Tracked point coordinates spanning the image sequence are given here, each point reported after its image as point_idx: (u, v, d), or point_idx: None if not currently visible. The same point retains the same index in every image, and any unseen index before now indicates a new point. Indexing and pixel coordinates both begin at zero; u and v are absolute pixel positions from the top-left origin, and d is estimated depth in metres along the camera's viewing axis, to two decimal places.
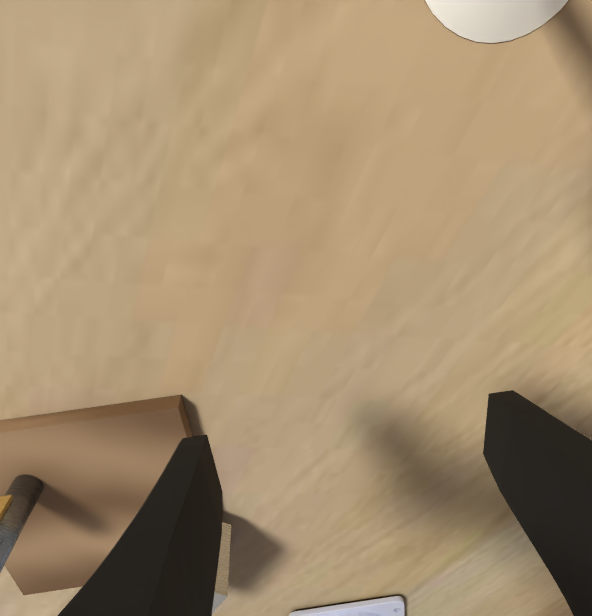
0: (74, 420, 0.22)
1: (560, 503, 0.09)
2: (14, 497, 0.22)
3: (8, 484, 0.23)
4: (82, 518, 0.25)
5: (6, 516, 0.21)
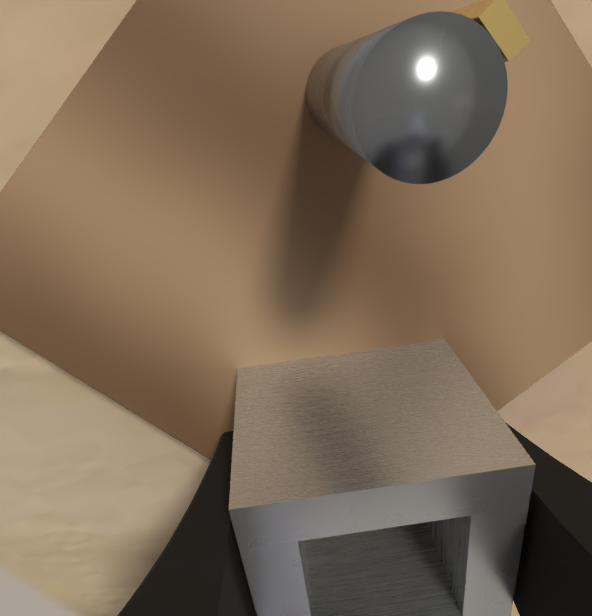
0: None
1: None
2: None
3: (321, 41, 0.08)
4: (304, 265, 0.10)
5: None
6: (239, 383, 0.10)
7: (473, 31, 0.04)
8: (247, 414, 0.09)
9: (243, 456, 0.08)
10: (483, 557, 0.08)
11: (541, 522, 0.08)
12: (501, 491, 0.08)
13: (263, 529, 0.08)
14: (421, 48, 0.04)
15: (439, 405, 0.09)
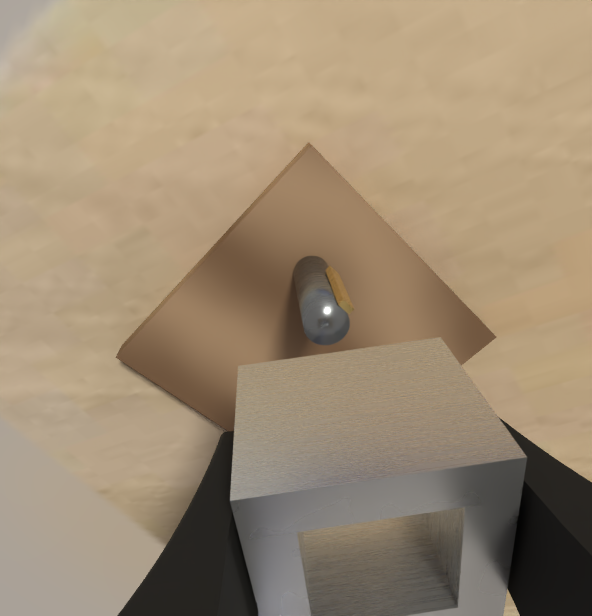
0: None
1: None
2: None
3: (299, 254, 0.18)
4: (293, 344, 0.20)
5: None
6: (240, 380, 0.11)
7: (337, 308, 0.14)
8: (247, 410, 0.10)
9: (244, 450, 0.09)
10: (477, 549, 0.09)
11: (541, 522, 0.08)
12: (494, 483, 0.08)
13: (263, 520, 0.08)
14: (322, 312, 0.14)
15: (434, 401, 0.09)
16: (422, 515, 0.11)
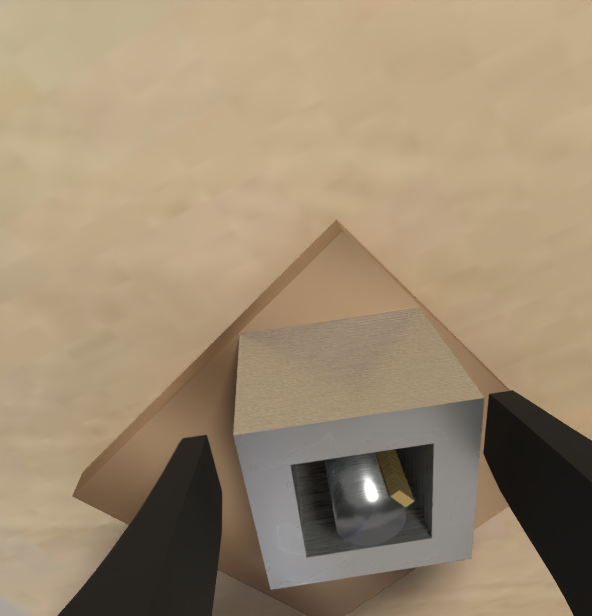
0: (495, 379, 0.14)
1: (560, 502, 0.09)
2: None
3: None
4: None
5: None
6: (241, 345, 0.12)
7: (388, 501, 0.09)
8: (248, 368, 0.11)
9: (245, 398, 0.10)
10: (446, 482, 0.10)
11: None
12: (457, 421, 0.09)
13: (261, 453, 0.09)
14: (366, 506, 0.09)
15: (410, 357, 0.11)
16: (404, 466, 0.13)
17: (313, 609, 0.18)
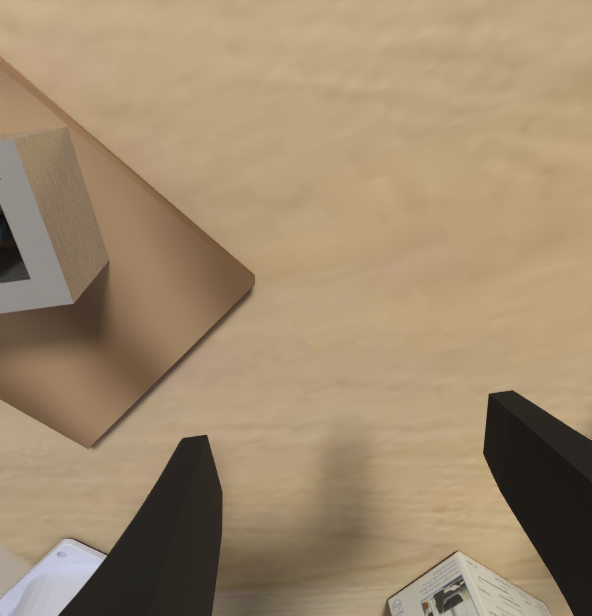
0: (158, 200, 0.17)
1: (560, 503, 0.09)
2: None
3: None
4: None
5: None
6: None
7: None
8: None
9: None
10: (18, 222, 0.13)
11: None
12: (1, 161, 0.13)
13: None
14: None
15: (7, 136, 0.14)
16: None
17: (68, 430, 0.22)
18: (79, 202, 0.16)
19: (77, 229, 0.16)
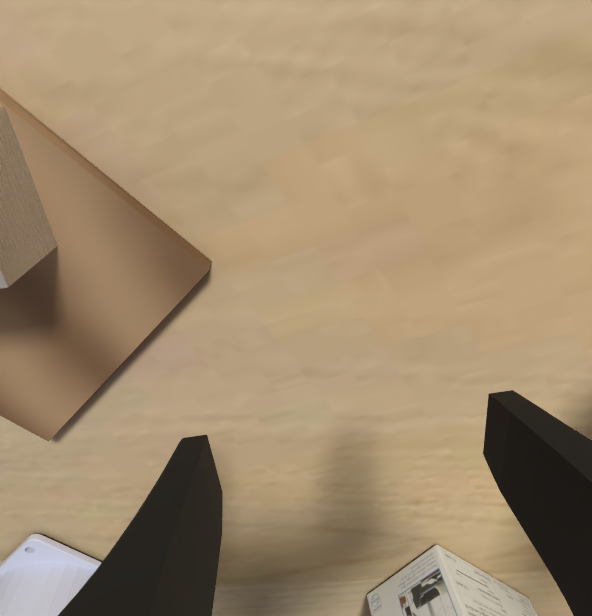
0: (104, 183, 0.17)
1: (560, 503, 0.09)
2: None
3: None
4: None
5: None
6: None
7: None
8: None
9: None
10: None
11: None
12: None
13: None
14: None
15: None
16: None
17: (27, 422, 0.21)
18: (19, 184, 0.16)
19: (15, 212, 0.15)
